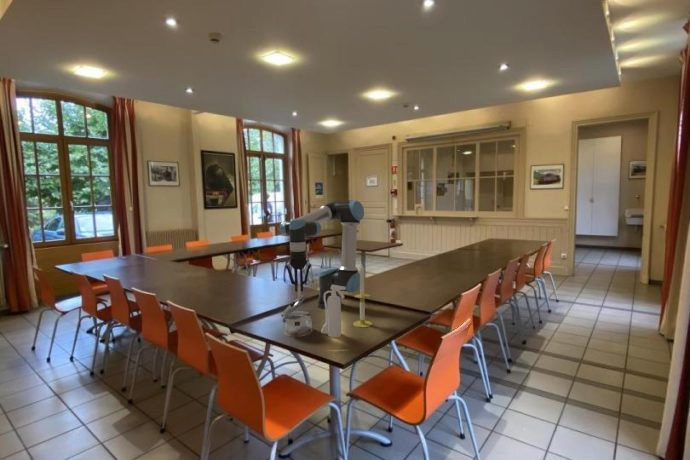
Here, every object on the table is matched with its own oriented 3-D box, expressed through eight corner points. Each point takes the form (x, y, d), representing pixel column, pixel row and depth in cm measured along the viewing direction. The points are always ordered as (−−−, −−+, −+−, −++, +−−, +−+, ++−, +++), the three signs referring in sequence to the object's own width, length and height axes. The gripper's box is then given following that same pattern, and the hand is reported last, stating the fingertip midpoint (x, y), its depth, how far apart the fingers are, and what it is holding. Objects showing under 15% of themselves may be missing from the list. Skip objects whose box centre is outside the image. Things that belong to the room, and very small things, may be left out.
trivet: (312, 326, 186) (312, 325, 186) (312, 336, 173) (312, 335, 173) (285, 327, 185) (285, 326, 185) (283, 338, 171) (283, 337, 171)
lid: (305, 293, 185) (303, 290, 184) (305, 301, 171) (301, 297, 171) (283, 312, 185) (280, 308, 184) (281, 321, 171) (278, 317, 170)
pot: (311, 323, 189) (311, 309, 188) (311, 337, 170) (311, 320, 170) (285, 325, 187) (284, 310, 187) (281, 338, 169) (281, 322, 169)
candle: (349, 323, 190) (348, 262, 187) (363, 319, 196) (363, 260, 193) (361, 329, 182) (360, 265, 179) (376, 324, 187) (375, 263, 185)
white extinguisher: (323, 331, 179) (323, 282, 176) (346, 334, 175) (347, 284, 172) (318, 336, 172) (318, 286, 169) (342, 340, 169) (342, 288, 166)
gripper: (311, 249, 180) (312, 295, 182) (285, 249, 179) (286, 296, 181) (311, 251, 172) (312, 299, 174) (283, 252, 171) (285, 300, 173)
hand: (299, 297), depth 178 cm, fingers closed
